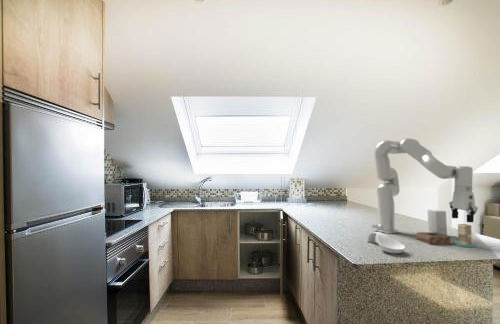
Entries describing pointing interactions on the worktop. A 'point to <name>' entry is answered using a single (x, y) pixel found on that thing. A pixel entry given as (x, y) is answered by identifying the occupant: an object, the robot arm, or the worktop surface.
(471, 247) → the teal rubber pad
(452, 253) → the worktop surface
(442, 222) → the skincare box
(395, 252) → the spoon rest
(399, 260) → the worktop surface
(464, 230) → the maple peg
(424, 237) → the walnut socket block
